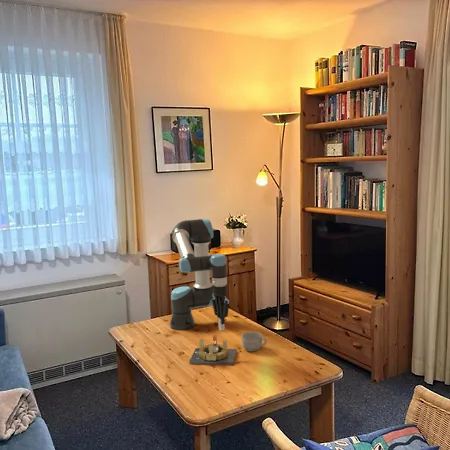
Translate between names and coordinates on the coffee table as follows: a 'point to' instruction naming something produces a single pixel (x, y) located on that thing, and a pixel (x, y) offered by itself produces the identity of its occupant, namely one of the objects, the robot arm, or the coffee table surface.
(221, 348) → the ring nut
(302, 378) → the coffee table surface
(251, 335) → the teacup
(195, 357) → the housing
